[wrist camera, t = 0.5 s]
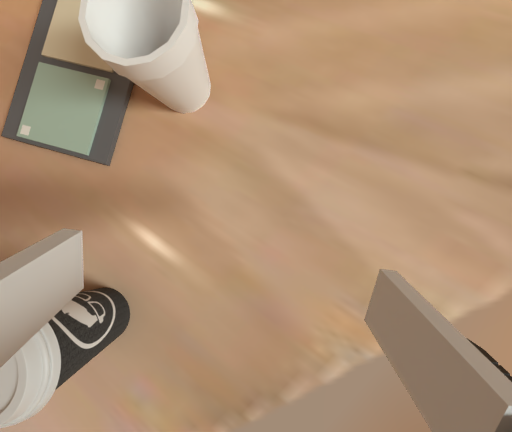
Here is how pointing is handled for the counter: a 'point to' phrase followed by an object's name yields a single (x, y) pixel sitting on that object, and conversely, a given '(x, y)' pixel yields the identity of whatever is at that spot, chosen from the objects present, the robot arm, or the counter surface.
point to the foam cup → (151, 47)
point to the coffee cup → (60, 352)
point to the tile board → (67, 90)
